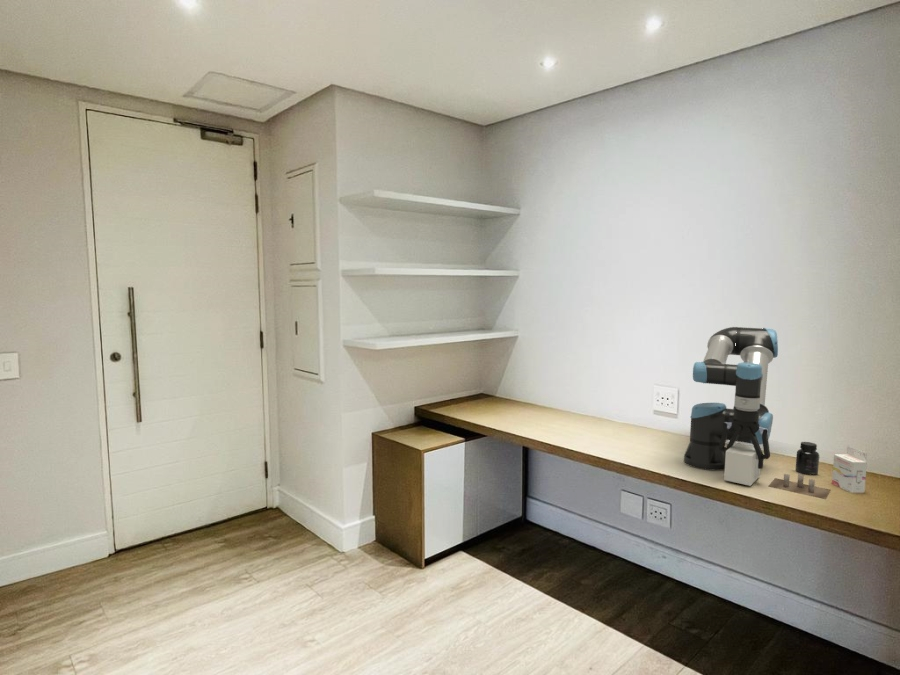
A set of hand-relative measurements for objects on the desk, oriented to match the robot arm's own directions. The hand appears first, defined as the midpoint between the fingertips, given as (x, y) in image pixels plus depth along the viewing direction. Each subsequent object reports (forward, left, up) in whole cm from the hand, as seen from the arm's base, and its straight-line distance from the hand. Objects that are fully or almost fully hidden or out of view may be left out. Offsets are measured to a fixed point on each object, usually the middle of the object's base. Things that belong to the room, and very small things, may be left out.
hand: (742, 474), depth 188 cm
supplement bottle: (+15, +25, -4) cm, 29 cm away
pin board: (+16, +5, -3) cm, 17 cm away
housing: (0, 0, -1) cm, 1 cm away
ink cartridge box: (+28, +16, -4) cm, 32 cm away
